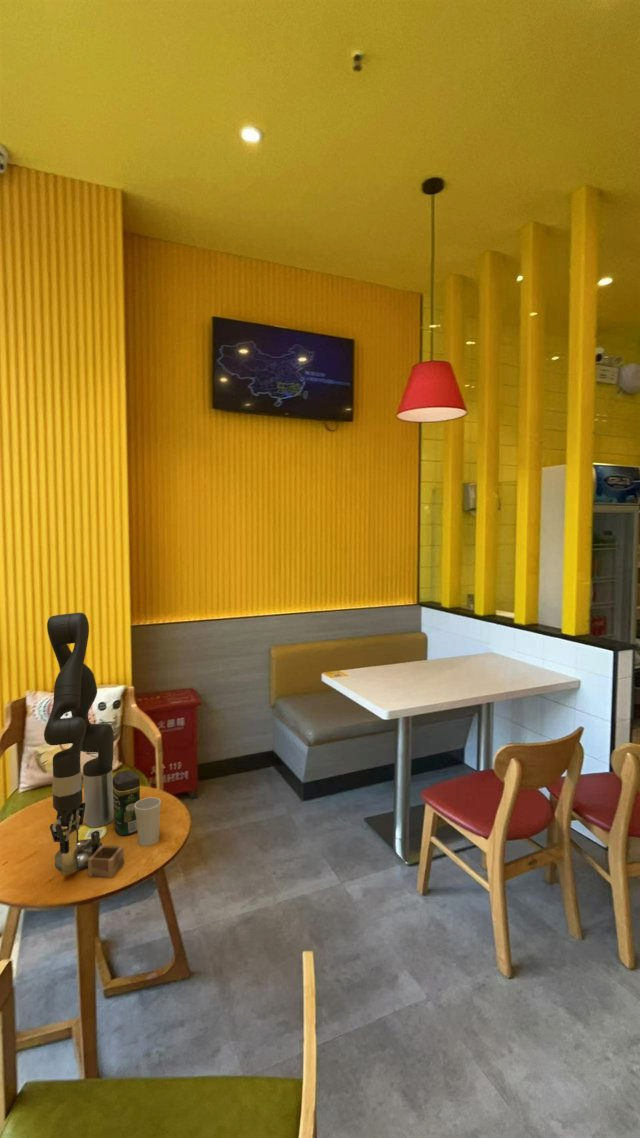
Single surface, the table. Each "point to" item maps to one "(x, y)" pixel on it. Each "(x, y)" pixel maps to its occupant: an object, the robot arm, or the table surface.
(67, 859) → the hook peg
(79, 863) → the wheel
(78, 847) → the axle cap
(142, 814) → the cup
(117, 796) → the coffee jar
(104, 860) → the block
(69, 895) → the table surface
